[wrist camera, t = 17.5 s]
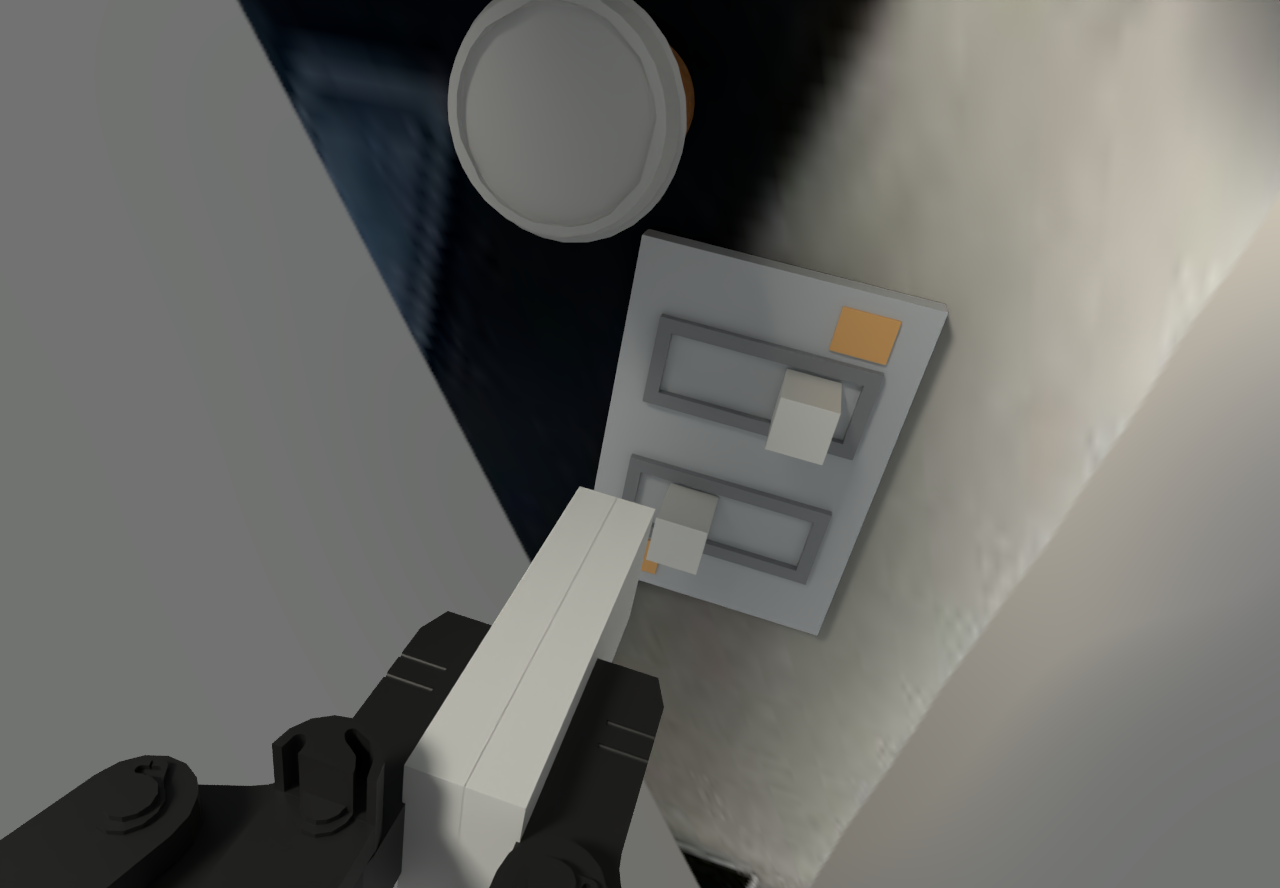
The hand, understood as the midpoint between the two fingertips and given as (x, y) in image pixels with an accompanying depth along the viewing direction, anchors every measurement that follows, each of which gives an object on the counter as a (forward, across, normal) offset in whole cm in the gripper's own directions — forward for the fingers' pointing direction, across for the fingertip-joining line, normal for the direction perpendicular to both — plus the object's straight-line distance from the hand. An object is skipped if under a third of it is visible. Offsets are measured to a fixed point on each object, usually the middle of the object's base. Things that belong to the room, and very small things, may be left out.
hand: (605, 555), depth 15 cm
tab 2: (+28, +5, -7) cm, 29 cm away
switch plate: (+29, +2, -12) cm, 32 cm away
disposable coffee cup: (+30, -8, +5) cm, 31 cm away
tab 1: (+28, 0, -16) cm, 32 cm away
